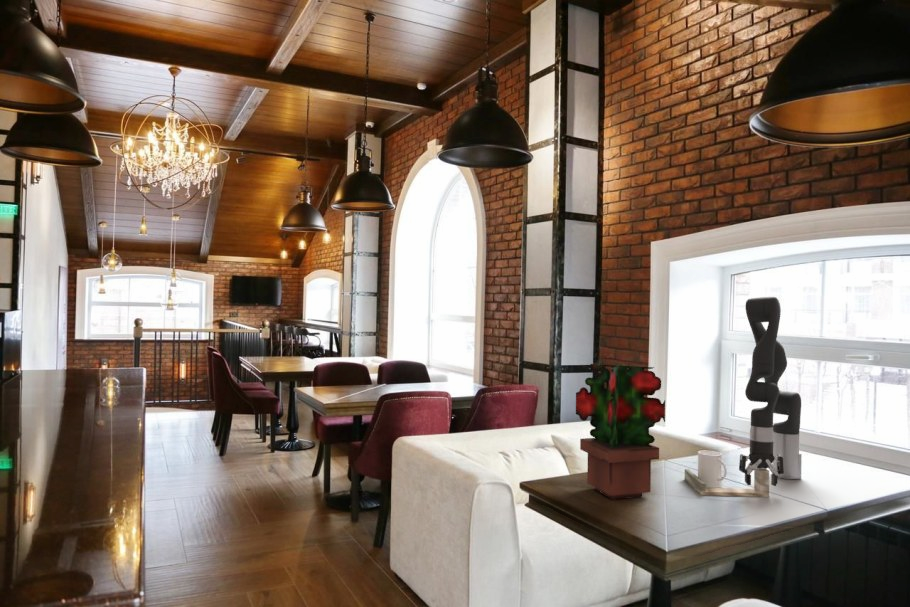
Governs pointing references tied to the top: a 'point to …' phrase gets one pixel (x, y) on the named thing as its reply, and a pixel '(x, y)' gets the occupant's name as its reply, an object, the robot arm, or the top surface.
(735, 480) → the top surface
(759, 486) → the bracket
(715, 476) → the mug
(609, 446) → the potted plant
